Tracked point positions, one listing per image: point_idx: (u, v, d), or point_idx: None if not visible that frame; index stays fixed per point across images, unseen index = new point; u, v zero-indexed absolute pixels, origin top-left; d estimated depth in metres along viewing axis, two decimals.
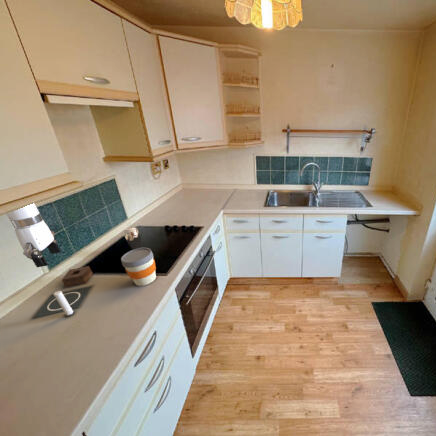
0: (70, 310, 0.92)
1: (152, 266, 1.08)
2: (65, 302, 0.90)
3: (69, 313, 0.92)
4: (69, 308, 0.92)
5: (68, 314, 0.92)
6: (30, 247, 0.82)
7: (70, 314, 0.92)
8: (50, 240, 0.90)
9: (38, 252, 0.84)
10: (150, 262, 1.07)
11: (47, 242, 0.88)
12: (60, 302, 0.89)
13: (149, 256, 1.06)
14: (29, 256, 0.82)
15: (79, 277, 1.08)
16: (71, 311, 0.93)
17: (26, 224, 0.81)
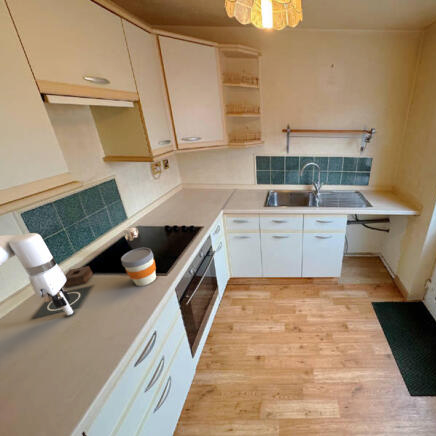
0: (70, 310, 0.92)
1: (152, 266, 1.08)
2: None
3: (69, 313, 0.92)
4: (69, 308, 0.92)
5: (68, 314, 0.92)
6: (49, 297, 0.83)
7: (70, 314, 0.92)
8: (63, 282, 0.89)
9: (57, 295, 0.86)
10: (150, 262, 1.07)
11: (60, 285, 0.87)
12: None
13: (149, 256, 1.06)
14: None
15: (79, 277, 1.08)
16: (71, 311, 0.93)
17: (40, 271, 0.80)
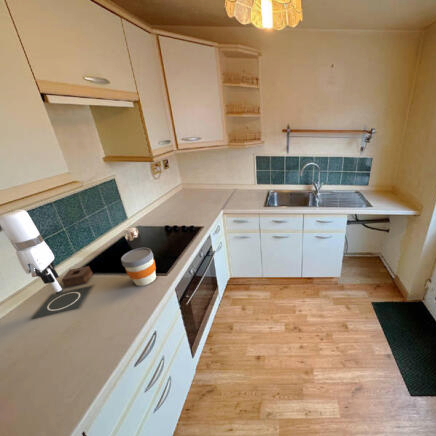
0: (58, 287, 0.95)
1: (152, 266, 1.08)
2: None
3: (57, 290, 0.95)
4: (57, 285, 0.94)
5: (56, 291, 0.95)
6: (36, 273, 0.85)
7: (58, 291, 0.95)
8: (51, 259, 0.92)
9: (44, 271, 0.89)
10: (150, 262, 1.07)
11: (48, 262, 0.90)
12: None
13: (149, 256, 1.06)
14: (38, 275, 0.87)
15: (79, 277, 1.08)
16: (60, 289, 0.95)
17: (27, 246, 0.83)
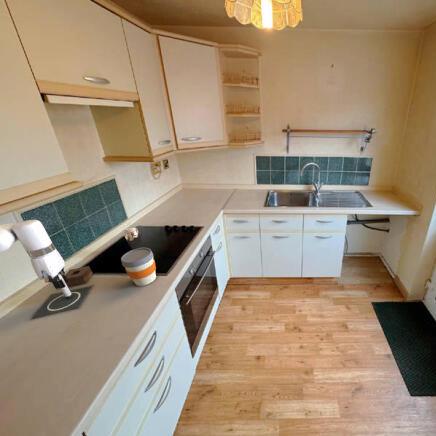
0: (68, 292, 1.00)
1: (152, 266, 1.08)
2: None
3: (67, 295, 1.00)
4: (68, 290, 1.00)
5: (66, 295, 1.00)
6: (49, 279, 0.91)
7: (68, 296, 1.00)
8: (61, 266, 0.97)
9: (56, 277, 0.94)
10: (150, 262, 1.07)
11: (59, 268, 0.95)
12: None
13: (149, 256, 1.06)
14: (50, 281, 0.93)
15: (79, 277, 1.08)
16: (70, 293, 1.01)
17: (40, 254, 0.88)
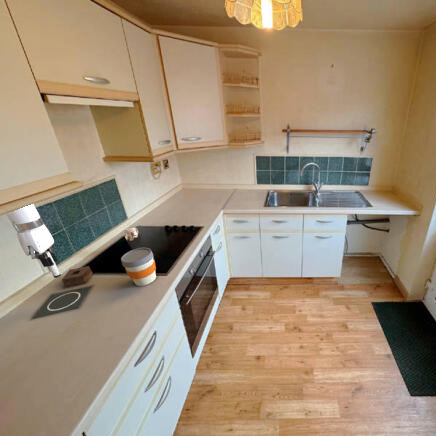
0: (57, 271, 0.96)
1: (152, 266, 1.08)
2: None
3: (56, 274, 0.96)
4: (56, 269, 0.96)
5: (55, 275, 0.96)
6: (36, 255, 0.87)
7: (57, 275, 0.97)
8: (50, 243, 0.94)
9: (44, 254, 0.91)
10: (150, 262, 1.07)
11: (47, 245, 0.92)
12: None
13: (149, 256, 1.06)
14: (38, 258, 0.89)
15: (79, 277, 1.08)
16: (58, 273, 0.97)
17: (27, 228, 0.85)
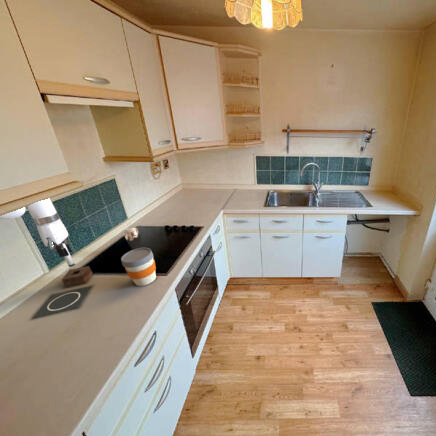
0: (71, 261, 1.08)
1: (152, 266, 1.08)
2: None
3: (70, 263, 1.07)
4: (71, 259, 1.07)
5: (69, 264, 1.07)
6: (53, 246, 0.98)
7: (71, 264, 1.08)
8: (65, 235, 1.05)
9: (60, 245, 1.02)
10: (150, 262, 1.07)
11: (63, 237, 1.03)
12: None
13: (149, 256, 1.06)
14: (55, 248, 1.00)
15: (79, 277, 1.08)
16: (72, 262, 1.08)
17: (46, 222, 0.96)
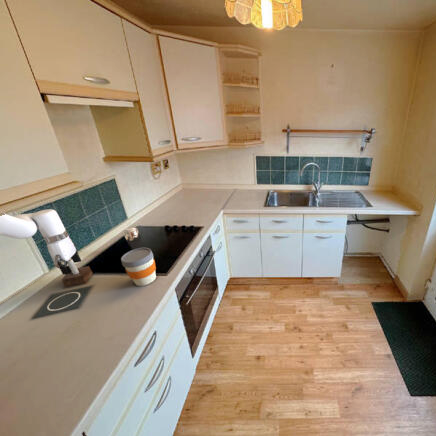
0: None
1: (152, 266, 1.08)
2: (75, 269, 1.10)
3: None
4: None
5: None
6: (59, 258, 1.00)
7: None
8: (73, 252, 1.08)
9: (64, 262, 1.03)
10: (150, 262, 1.07)
11: (71, 254, 1.06)
12: (71, 268, 1.08)
13: (149, 256, 1.06)
14: (58, 266, 1.00)
15: (79, 277, 1.08)
16: None
17: (56, 240, 0.99)
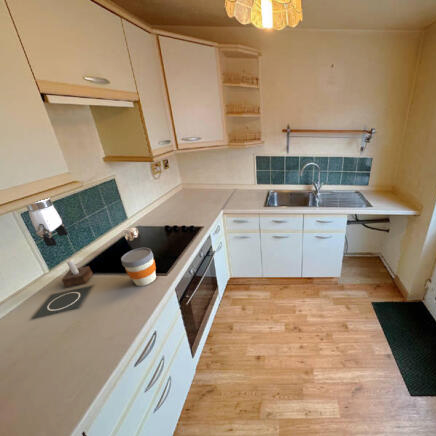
0: None
1: (152, 266, 1.08)
2: (75, 269, 1.10)
3: None
4: None
5: None
6: (42, 228, 0.94)
7: None
8: (59, 223, 1.02)
9: (49, 233, 0.96)
10: (150, 262, 1.07)
11: (56, 224, 1.00)
12: (71, 268, 1.08)
13: (149, 256, 1.06)
14: (41, 235, 0.93)
15: (79, 277, 1.08)
16: None
17: (38, 207, 0.93)
